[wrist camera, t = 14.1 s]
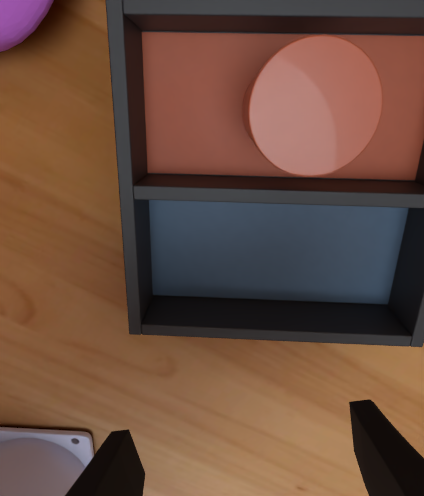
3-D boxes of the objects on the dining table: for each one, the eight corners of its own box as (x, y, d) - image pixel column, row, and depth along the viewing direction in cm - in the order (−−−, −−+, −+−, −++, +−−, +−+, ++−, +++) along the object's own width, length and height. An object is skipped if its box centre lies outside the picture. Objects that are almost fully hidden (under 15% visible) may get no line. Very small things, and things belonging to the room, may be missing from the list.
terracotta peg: (264, 169, 18) (280, 198, 12) (226, 88, 16) (225, 79, 11) (344, 129, 17) (401, 140, 11) (311, 41, 16) (357, 4, 10)
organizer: (144, 300, 21) (129, 334, 18) (129, 17, 16) (104, -6, 13) (393, 310, 20) (422, 347, 17) (458, 20, 15) (517, -2, 12)
